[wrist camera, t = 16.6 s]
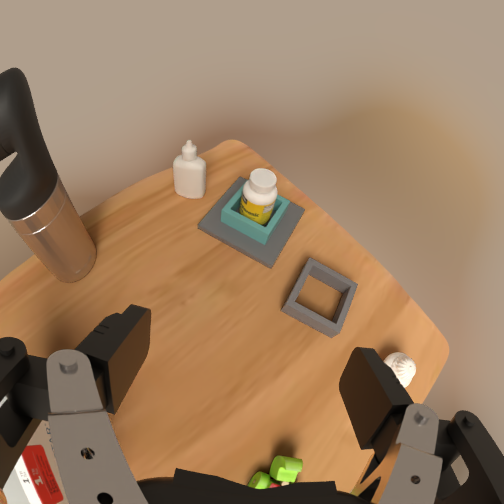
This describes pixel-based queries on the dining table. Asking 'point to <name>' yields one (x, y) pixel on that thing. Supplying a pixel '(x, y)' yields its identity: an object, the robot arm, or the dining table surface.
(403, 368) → the white ribbed rounded piece
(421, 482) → the robot arm
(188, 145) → the eye dropper bottle
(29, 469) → the hard drive box
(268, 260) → the port
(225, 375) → the dining table surface
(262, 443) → the dining table surface
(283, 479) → the toy crocodile
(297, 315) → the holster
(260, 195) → the supplement bottle
